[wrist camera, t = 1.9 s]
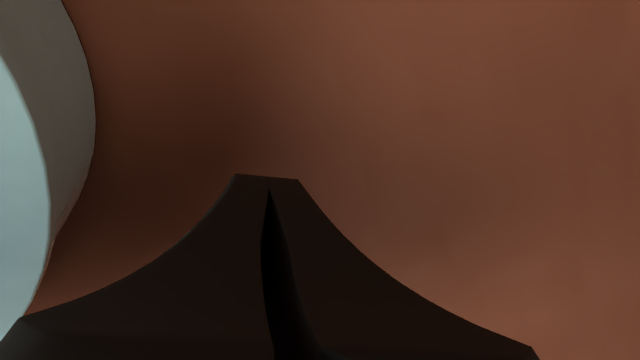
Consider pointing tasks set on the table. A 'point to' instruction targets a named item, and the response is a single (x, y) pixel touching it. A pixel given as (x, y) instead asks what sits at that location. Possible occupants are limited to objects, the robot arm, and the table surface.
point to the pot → (39, 142)
